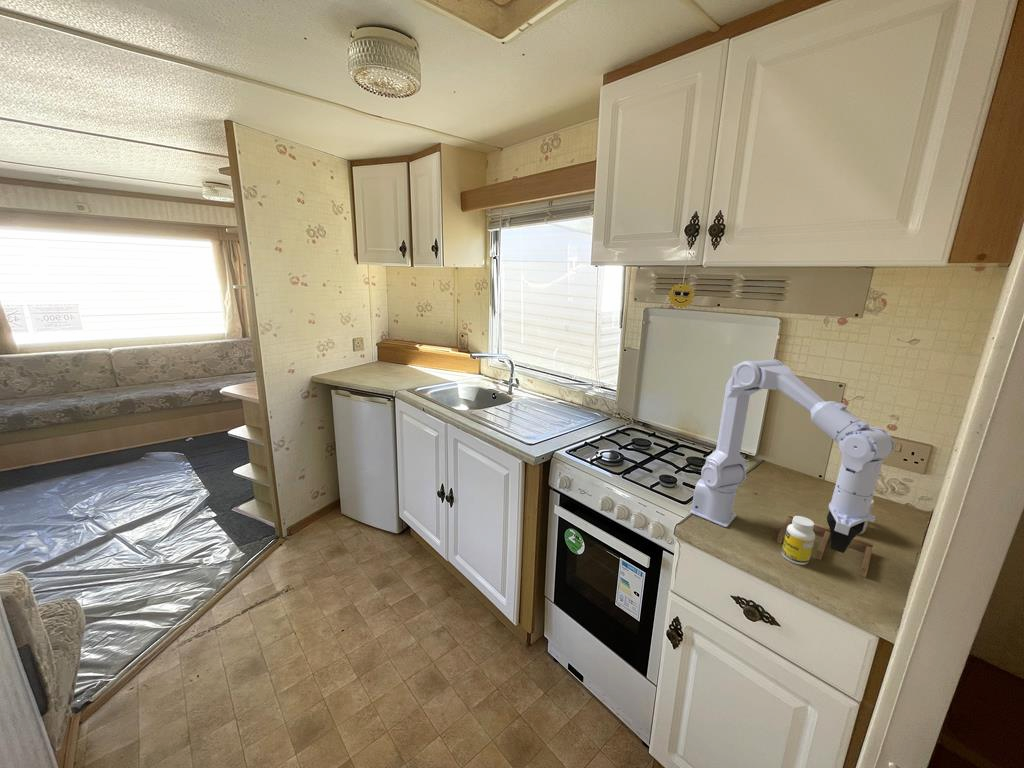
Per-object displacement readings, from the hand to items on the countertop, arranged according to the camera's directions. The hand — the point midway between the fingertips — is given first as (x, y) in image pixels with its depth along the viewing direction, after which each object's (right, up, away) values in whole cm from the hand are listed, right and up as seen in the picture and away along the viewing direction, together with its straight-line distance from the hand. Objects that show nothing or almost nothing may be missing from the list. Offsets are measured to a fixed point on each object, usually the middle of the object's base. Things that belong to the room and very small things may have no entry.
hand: (837, 549), depth 84 cm
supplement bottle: (0, -7, +13) cm, 14 cm away
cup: (+23, -4, +26) cm, 35 cm away
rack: (+9, -6, +16) cm, 20 cm away
